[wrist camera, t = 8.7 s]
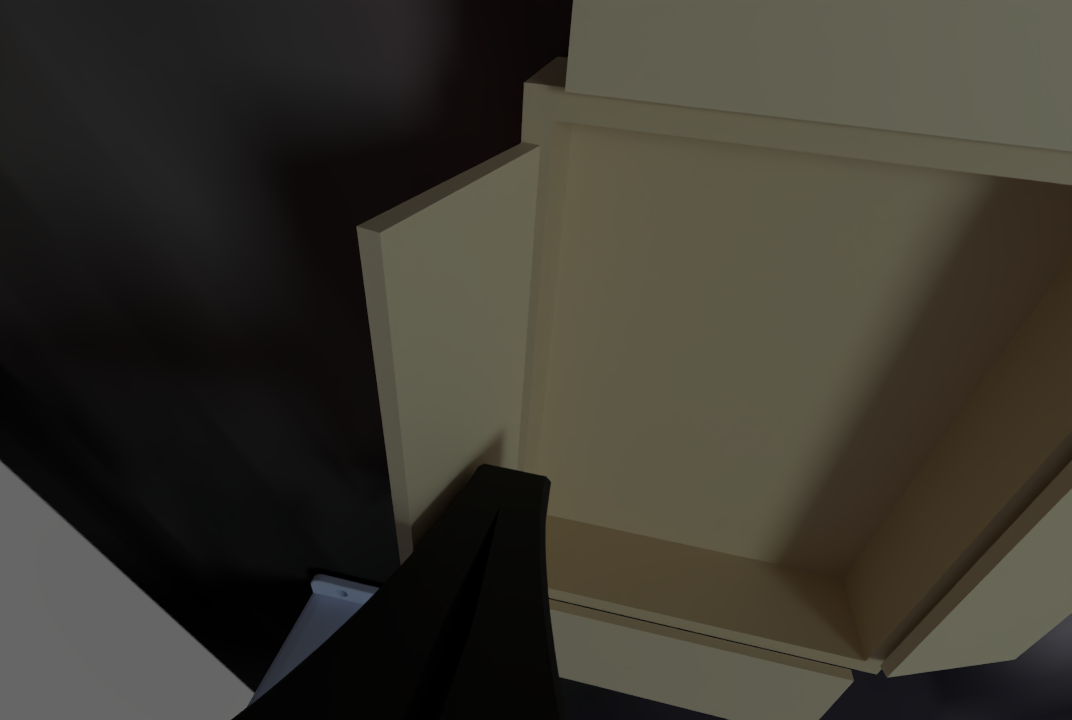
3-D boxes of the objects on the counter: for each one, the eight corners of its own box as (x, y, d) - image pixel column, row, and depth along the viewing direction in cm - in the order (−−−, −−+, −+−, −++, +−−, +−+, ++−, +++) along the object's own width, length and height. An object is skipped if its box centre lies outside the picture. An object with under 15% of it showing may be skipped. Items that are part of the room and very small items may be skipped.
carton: (515, 574, 22) (492, 659, 19) (581, -234, 9) (538, -324, 6) (805, 641, 20) (824, 743, 18) (1412, -199, 7) (1841, -293, 5)
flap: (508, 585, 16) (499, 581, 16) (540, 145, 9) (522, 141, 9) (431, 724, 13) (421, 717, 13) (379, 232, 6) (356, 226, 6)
